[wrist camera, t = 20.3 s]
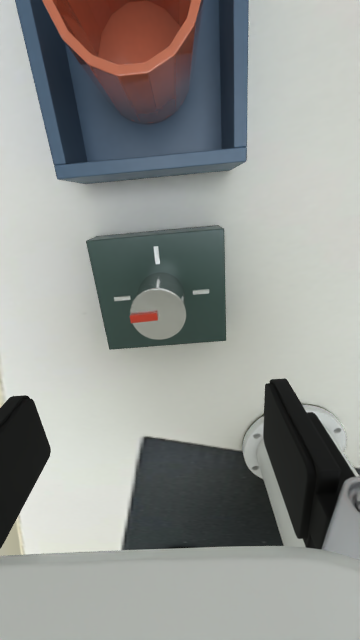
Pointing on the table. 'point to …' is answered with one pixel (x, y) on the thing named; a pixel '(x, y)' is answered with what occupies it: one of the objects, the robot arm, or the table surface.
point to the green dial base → (168, 257)
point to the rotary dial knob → (159, 306)
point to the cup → (133, 50)
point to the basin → (132, 138)
